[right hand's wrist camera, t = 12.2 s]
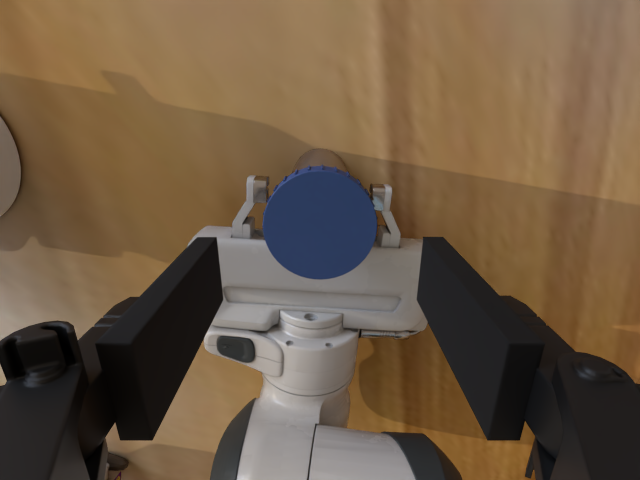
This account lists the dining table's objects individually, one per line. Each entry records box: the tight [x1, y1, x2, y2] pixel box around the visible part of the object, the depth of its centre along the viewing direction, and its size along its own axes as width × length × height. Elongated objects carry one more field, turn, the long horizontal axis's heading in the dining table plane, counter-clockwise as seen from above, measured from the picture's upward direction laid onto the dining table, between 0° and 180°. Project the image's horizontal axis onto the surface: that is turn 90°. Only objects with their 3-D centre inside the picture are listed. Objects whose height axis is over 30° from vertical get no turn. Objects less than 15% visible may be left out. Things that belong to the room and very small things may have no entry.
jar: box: [292, 149, 348, 173], centre depth 26 cm, size 5×5×15 cm
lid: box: [263, 165, 377, 280], centre depth 19 cm, size 6×6×2 cm
